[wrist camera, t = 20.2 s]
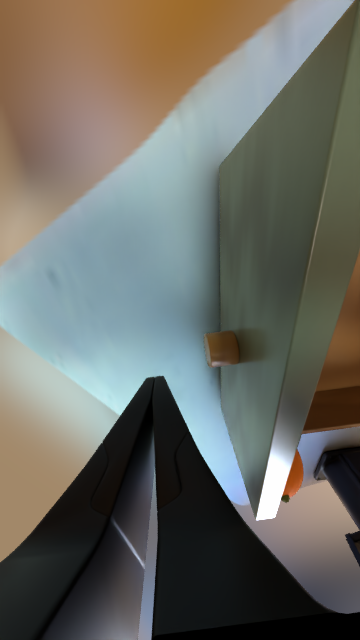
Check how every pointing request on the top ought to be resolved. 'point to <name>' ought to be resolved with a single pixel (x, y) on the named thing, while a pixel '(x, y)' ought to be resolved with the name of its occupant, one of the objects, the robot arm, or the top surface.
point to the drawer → (292, 268)
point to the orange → (293, 478)
